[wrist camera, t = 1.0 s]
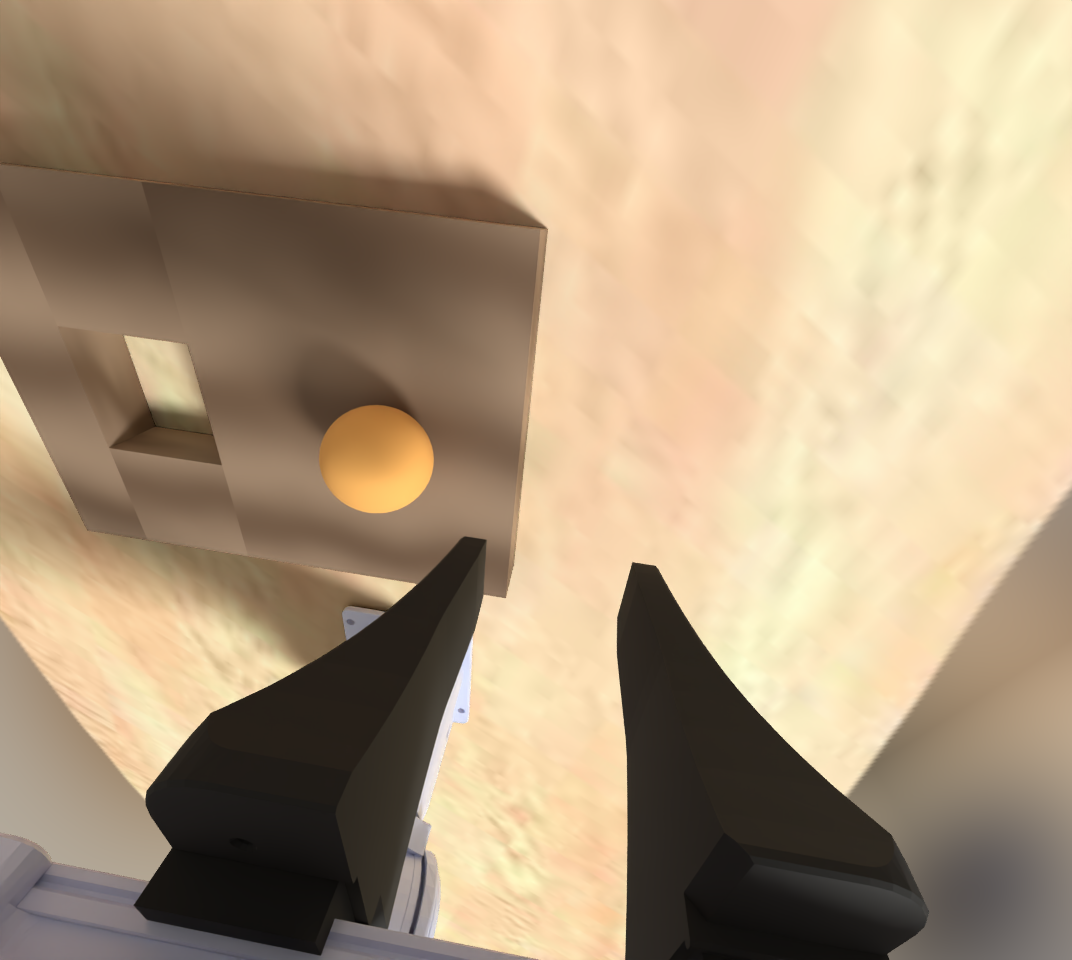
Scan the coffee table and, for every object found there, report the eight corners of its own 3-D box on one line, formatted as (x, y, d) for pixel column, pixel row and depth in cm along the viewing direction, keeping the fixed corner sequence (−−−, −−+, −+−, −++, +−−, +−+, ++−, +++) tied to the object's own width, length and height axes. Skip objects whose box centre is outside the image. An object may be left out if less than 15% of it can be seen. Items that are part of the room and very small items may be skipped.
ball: (446, 485, 19) (414, 543, 16) (356, 472, 20) (305, 525, 16) (447, 397, 17) (409, 441, 14) (346, 383, 18) (285, 423, 14)
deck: (513, 564, 24) (505, 597, 22) (130, 504, 26) (87, 530, 23) (547, 229, 16) (540, 229, 14) (-16, 160, 17) (-102, 152, 15)
